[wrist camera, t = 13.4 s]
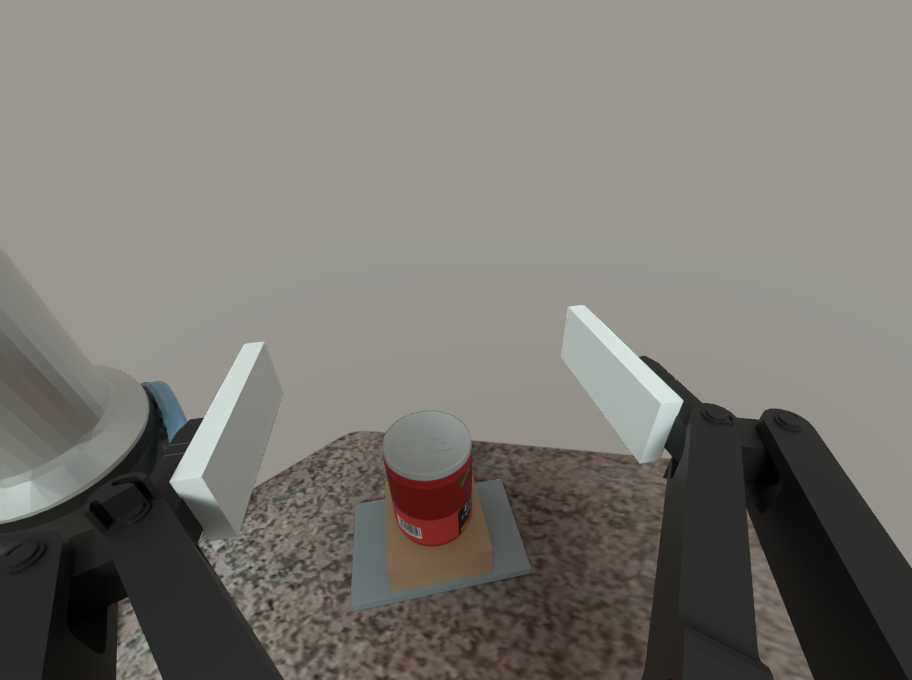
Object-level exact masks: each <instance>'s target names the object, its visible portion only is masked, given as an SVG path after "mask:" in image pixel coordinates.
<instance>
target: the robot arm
mask: <svg viewBox="0 0 912 680" xmlns="http://www.w3.org/2000/svg"><path fill="white" fill-rule="evenodd" d="M561 357H562V358H563V360H564V362H565V363H566V364H567V365H568V367H569V368H570V369H571V371H572V372H573V374H574V375H575V376H576V378H577V379H578V380H579V382H580V383H581V385H582V386H583V387H584V389H585V390H586V391H587V393H588V394H589V395H590V397H591V398H592V399H593V401H594V402H595V403H596V405H597V406H598V408H599V409H600V410H601V412H602V413H603V414H604V416H605V417H606V418H607V420H608V421H609V423H610V424H611V425H612V427H613V428H614V429H615V431H616V432H617V433H618V435H619V436H620V437H621V439H622V440H623V442H624V443H625V444H626V446H627V447H628V448H629V450H630V451H631V452H632V454H633V455H634V456H635V458H636V459H637V461H638V462H639V463H640V464H641V463H646V462H652V461H657V460H660V458H661V456H662V453H663V451H664V448H665V449H666V450H667V451H668V452H669V453H670V454H671V456H672V458H671V460H670V462H669V465H668V467H667V470H666V472H665V474H664V477H663V478H665V479H667V486H666V494H665V503H664V511H663V520H662V528H661V537H660V545H659V554H658V562H657V571H656V579H655V588H654V596H653V605H652V613H651V622H650V630H649V639H648V647H647V656H646V663H645V669H644V673H643V676H642V680H774V679H773V676H772V673H771V671H770V669H769V667H767V666H766V665H765V664H763V663H762V662H761V660H760V658H759V655H758V648H757V636H756V624H755V611H754V599H753V586H752V574H751V562H750V549H749V537H748V525H747V512H746V508H747V511H748V513H749V516H750V518H751V521H752V523H753V526H754V528H755V531H756V533H757V536H758V538H759V541H760V544H761V546H762V549H763V551H764V554H765V556H766V559H767V561H768V564H769V566H770V569H771V571H772V574H773V576H774V579H775V582H776V584H777V587H778V589H779V592H780V594H781V597H782V599H783V602H784V604H785V607H786V609H787V612H788V614H789V617H790V620H791V622H792V625H793V627H794V630H795V632H796V635H797V637H798V640H799V642H800V645H801V647H802V650H803V652H804V655H805V658H806V660H807V663H808V665H809V668H810V670H811V673H812V675H813V678H814V680H912V568H911V567H910V565H909V564H908V562H907V561H906V559H905V558H904V557H903V555H902V554H901V552H900V551H899V549H898V548H897V547H896V545H895V544H894V542H893V541H892V539H891V538H890V536H889V535H888V533H887V532H886V531H885V529H884V528H883V526H882V525H881V523H880V522H879V521H878V519H877V518H876V516H875V515H874V513H873V512H872V511H871V509H870V508H869V506H868V505H867V503H866V502H865V500H864V499H863V498H862V496H861V495H860V493H859V492H858V490H857V489H856V488H855V486H854V485H853V483H852V482H851V480H850V479H849V477H848V476H847V475H846V473H845V472H844V470H843V469H842V467H841V466H840V465H839V463H838V462H837V460H836V459H835V457H834V456H833V454H832V453H831V452H830V450H829V449H828V447H827V446H826V444H825V443H824V441H823V440H822V439H821V437H820V436H819V434H818V433H817V431H816V430H815V428H814V427H813V426H812V425H811V424H810V423H809V422H808V421H807V420H805V419H804V418H802V417H801V416H799V415H797V414H795V413H793V412H790V411H786V410H782V409H768V410H765V411H764V413H763V414H762V416H761V417H760V419H759V420H756V419H745V418H736V417H735V416H734V415H733V414H732V413H731V412H730V411H728V410H726V409H725V408H723V407H720V406H718V405H715V404H709V403H702V402H701V401H699V400H698V399H697V398H696V397H695V396H694V395H693V394H692V393H691V392H690V391H689V390H687V389H686V388H685V387H684V386H683V385H682V384H681V383H680V382H679V381H677V380H675V378H674V377H673V376H672V375H671V374H670V373H667V370H665V369H664V368H663V367H662V366H661V365H660V364H659V363H658V362H655V361H654V360H652V359H650V358H648V357H646V356H641V357H638V356H637V355H635V354H634V353H633V352H632V351H631V350H630V349H629V348H628V347H627V346H626V345H625V344H624V343H623V342H622V341H621V340H620V339H619V338H618V337H617V336H616V335H615V334H614V333H613V332H612V331H610V330H609V329H608V328H607V327H606V326H605V325H604V324H603V323H602V322H601V321H600V320H599V319H598V318H597V317H596V316H595V315H594V314H593V313H592V312H591V311H590V310H589V309H588V308H586V307H585V306H584V305H580V306H571V307H568V312H567V318H566V325H565V332H564V338H563V344H562V352H561ZM282 396H283V391H282V389H281V386H280V383H279V380H278V377H277V375H276V372H275V369H274V367H273V364H272V361H271V358H270V355H269V353H268V350H267V347H266V344H265V342H256V343H247V344H244V346H243V348H242V349H241V351H240V353H239V355H238V357H237V359H236V360H235V362H234V364H233V366H232V368H231V370H230V371H229V373H228V375H227V377H226V379H225V381H224V382H223V384H222V386H221V388H220V390H219V392H218V393H217V395H216V397H215V399H214V401H213V403H212V404H211V407H210V408H209V410H208V412H207V414H206V416H205V417H204V418H198V419H191V420H189V421H188V422H187V419H186V418H185V415H184V413H183V411H182V409H181V406H180V404H179V403H178V401H177V398H176V397H175V395H174V393H173V391H172V390H171V388H170V387H169V385H168V384H166V383H165V382H162V381H154V382H150V383H149V382H145V383H141V384H139V383H138V382H137V381H136V380H135V379H134V378H133V377H132V376H131V375H129V374H127V373H125V372H123V371H121V370H117V369H114V368H111V367H106V366H100V365H92V364H91V362H90V361H89V360H88V358H87V357H86V356H85V355H84V353H83V352H82V351H81V349H80V348H79V347H78V346H77V344H76V343H75V342H74V340H73V339H72V338H71V336H70V335H69V334H68V333H67V331H66V330H65V329H64V328H63V326H62V325H61V324H60V322H59V321H58V320H57V318H56V317H55V316H54V315H53V313H52V312H51V311H50V310H49V308H48V307H47V305H46V304H45V303H44V302H43V300H42V299H41V298H40V296H39V295H38V294H37V293H36V291H35V290H34V289H33V288H32V286H31V285H30V284H29V282H28V281H27V280H26V278H25V277H24V276H23V275H22V273H21V272H20V271H19V269H18V268H17V267H16V266H15V264H14V263H13V262H12V260H11V259H10V258H9V257H8V255H7V254H6V253H5V251H4V250H3V249H2V248H1V246H0V680H116V659H117V612H118V601H120V600H122V599H124V598H126V597H129V600H130V602H131V604H132V607H133V609H134V611H135V614H136V616H137V619H138V621H139V623H140V626H141V628H142V631H143V633H144V635H145V638H146V640H147V642H148V645H149V647H150V650H151V652H152V654H153V657H154V659H155V661H156V664H157V666H158V669H159V671H160V673H161V676H162V678H163V680H284V679H283V678H282V676H281V674H280V673H279V671H278V670H277V668H276V667H275V665H274V663H273V662H272V660H271V659H270V657H269V656H268V654H267V652H266V651H265V649H264V648H263V646H262V645H261V643H260V641H259V640H258V638H257V637H256V635H255V634H254V632H253V630H252V629H251V627H250V626H249V624H248V623H247V621H246V619H245V618H244V616H243V615H242V613H241V612H240V610H239V608H238V607H237V605H236V604H235V602H234V600H233V599H232V597H231V596H230V594H229V593H228V591H227V589H226V588H225V586H224V585H223V583H222V582H221V580H220V578H219V577H218V575H217V574H216V572H215V571H214V569H213V567H212V566H211V564H210V563H209V561H208V560H207V558H206V556H205V555H204V553H203V552H202V550H201V549H200V547H199V546H198V545H197V543H198V541H199V538H200V536H201V533H202V531H204V533H205V534H206V536H207V537H208V539H209V540H210V541H215V540H220V539H226V538H231V537H237V536H238V534H239V531H240V528H241V525H242V522H243V518H244V515H245V512H246V509H247V506H248V503H249V500H250V496H251V493H252V490H253V487H254V484H255V481H256V478H257V474H258V471H259V468H260V465H261V462H262V459H263V456H264V452H265V449H266V446H267V443H268V440H269V436H270V434H271V430H272V427H273V424H274V421H275V418H276V415H277V411H278V408H279V405H280V402H281V399H282Z"/></svg>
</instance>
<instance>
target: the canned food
mask: <svg viewBox="0 0 912 680" xmlns="http://www.w3.org/2000/svg"><path fill="white" fill-rule="evenodd" d="M383 457H384V464H385V469H386V474H387V478H388V483H389V488H390V493H391V498H392V503H393V508H394V513H395V518H396V521H397V524H398V526H399V528H400V530H401V531H402V532H403V533H404V534H405V535H406V536H407V537H408V538H409V539H410V540H412V541H413V542H415V543H417V544H420V545H423V546H433V547H435V546H441V545H445V544H447V543H450V542H452V541H453V540H455V539H456V538H458V537H459V536H460V535H461V534H462V533H463V531H464V530H465V528H466V527H467V525H468V523H469V521H470V519H471V514H472V441H471V436H470V432H469V430H468V429H467V427H466V425H464V423H463V422H462V421H461V420H459V419H458V418H456V417H455V416H452V415H450V414H447V413H444V412H439V411H421V412H416V413H412V414H410V415H407V416H405V417H403V418H401V419H399V420H398V421H396V422H395V423H394V424H393V425H392V426H391V427H390V428H389V429H388V431H387V432H386V434H385V436H384V439H383Z"/></svg>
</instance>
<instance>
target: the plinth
mask: <svg viewBox="0 0 912 680" xmlns="http://www.w3.org/2000/svg"><path fill="white" fill-rule="evenodd" d="M530 573H531V566H530V563H529V560H528V557H527V554H526V551H525V548H524V545H523V542H522V539H521V536H520V533H519V530H518V527H517V525H516V522H515V519H514V516H513V513H512V510H511V507H510V504H509V501H508V498H507V495H506V492H505V489H504V486H503V483H502V480H501V478H500V479H494V480H489V481H483V482H477V483H475V481H474V477H473V473H472V514H471V519H470V521H469V523H468V525H467V527H466V528H465V530H464V531H463V533H462V534H461V535H460V536H459V537H458V538H456V539H455V540H453V541H452V542H450V543H447V544H445V545H441V546H435V547H433V546H423V545H420V544H417V543H415V542H413V541H412V540H410V539H409V538H408V537H407V536H406V535H405V534H404V533H403V532H402V531H401V530H400V528H399V526H398V524H397V521H396V518H395V513H394V508H393V503H392V498H391V493H390V488H389V483H388V480H385V499H381V500H375V501H370V502H364V503H358V504H355V523H354V543H353V564H352V584H351V604H350V607H351V610H352V612H354V611H359V610H363V609H368V608H372V607H377V606H382V605H386V604H391V603H396V602H400V601H405V600H410V599H414V598H419V597H424V596H428V595H433V594H437V593H442V592H447V591H451V590H456V589H461V588H465V587H470V586H475V585H479V584H484V583H488V582H493V581H498V580H502V579H507V578H512V577H516V576H521V575H526V574H530Z"/></svg>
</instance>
